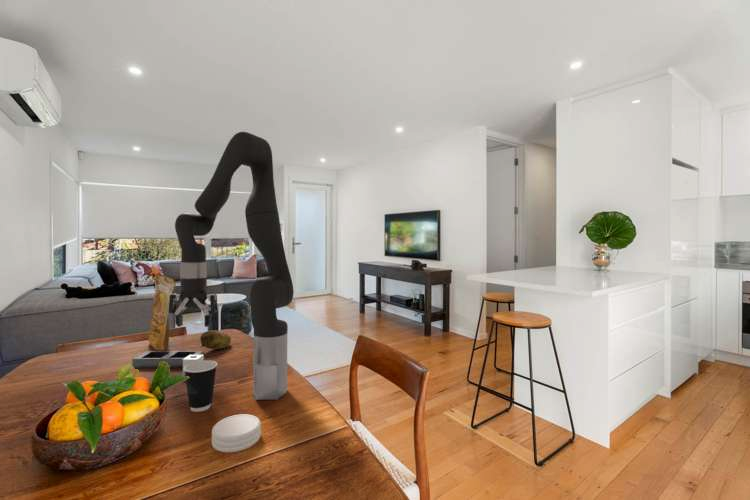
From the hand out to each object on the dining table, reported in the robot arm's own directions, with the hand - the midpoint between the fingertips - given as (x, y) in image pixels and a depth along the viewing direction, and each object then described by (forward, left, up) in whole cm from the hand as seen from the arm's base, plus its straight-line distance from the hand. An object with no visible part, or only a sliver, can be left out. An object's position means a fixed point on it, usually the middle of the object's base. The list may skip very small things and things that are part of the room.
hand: (193, 326), depth 113 cm
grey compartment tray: (+9, +12, -15) cm, 21 cm away
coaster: (-38, -26, -16) cm, 49 cm away
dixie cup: (-23, -12, -16) cm, 30 cm away
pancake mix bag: (+30, +26, -16) cm, 43 cm away
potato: (+25, +2, -16) cm, 30 cm away
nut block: (0, 0, -16) cm, 16 cm away
